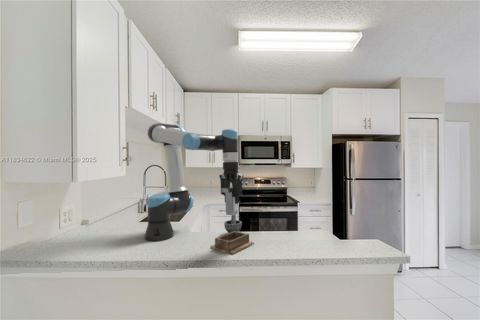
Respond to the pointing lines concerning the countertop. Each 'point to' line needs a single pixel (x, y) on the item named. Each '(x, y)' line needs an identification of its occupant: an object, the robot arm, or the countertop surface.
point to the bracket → (229, 201)
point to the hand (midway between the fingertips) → (231, 209)
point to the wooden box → (232, 242)
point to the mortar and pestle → (233, 224)
